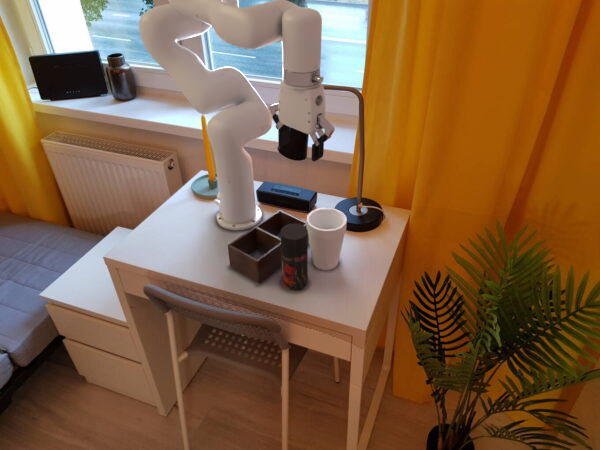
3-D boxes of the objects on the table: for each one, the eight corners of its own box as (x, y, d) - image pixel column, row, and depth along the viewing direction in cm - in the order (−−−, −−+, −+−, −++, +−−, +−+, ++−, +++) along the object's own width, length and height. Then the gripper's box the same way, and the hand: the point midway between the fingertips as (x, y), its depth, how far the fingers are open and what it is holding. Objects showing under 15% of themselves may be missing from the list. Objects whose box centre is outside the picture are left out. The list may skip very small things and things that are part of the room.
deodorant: (312, 284, 115) (312, 233, 106) (290, 294, 112) (289, 243, 104) (299, 270, 119) (298, 220, 110) (277, 279, 117) (275, 229, 108)
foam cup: (301, 254, 124) (300, 212, 116) (334, 246, 127) (336, 204, 119) (315, 278, 117) (316, 234, 109) (350, 268, 119) (353, 225, 112)
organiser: (230, 267, 120) (227, 245, 116) (280, 230, 132) (279, 209, 128) (259, 284, 115) (257, 261, 111) (309, 245, 127) (309, 223, 123)
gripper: (347, 81, 95) (341, 158, 106) (282, 61, 104) (283, 133, 115) (322, 92, 91) (319, 171, 101) (257, 70, 100) (260, 145, 110)
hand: (300, 151), depth 108 cm, fingers open, 9 cm apart
